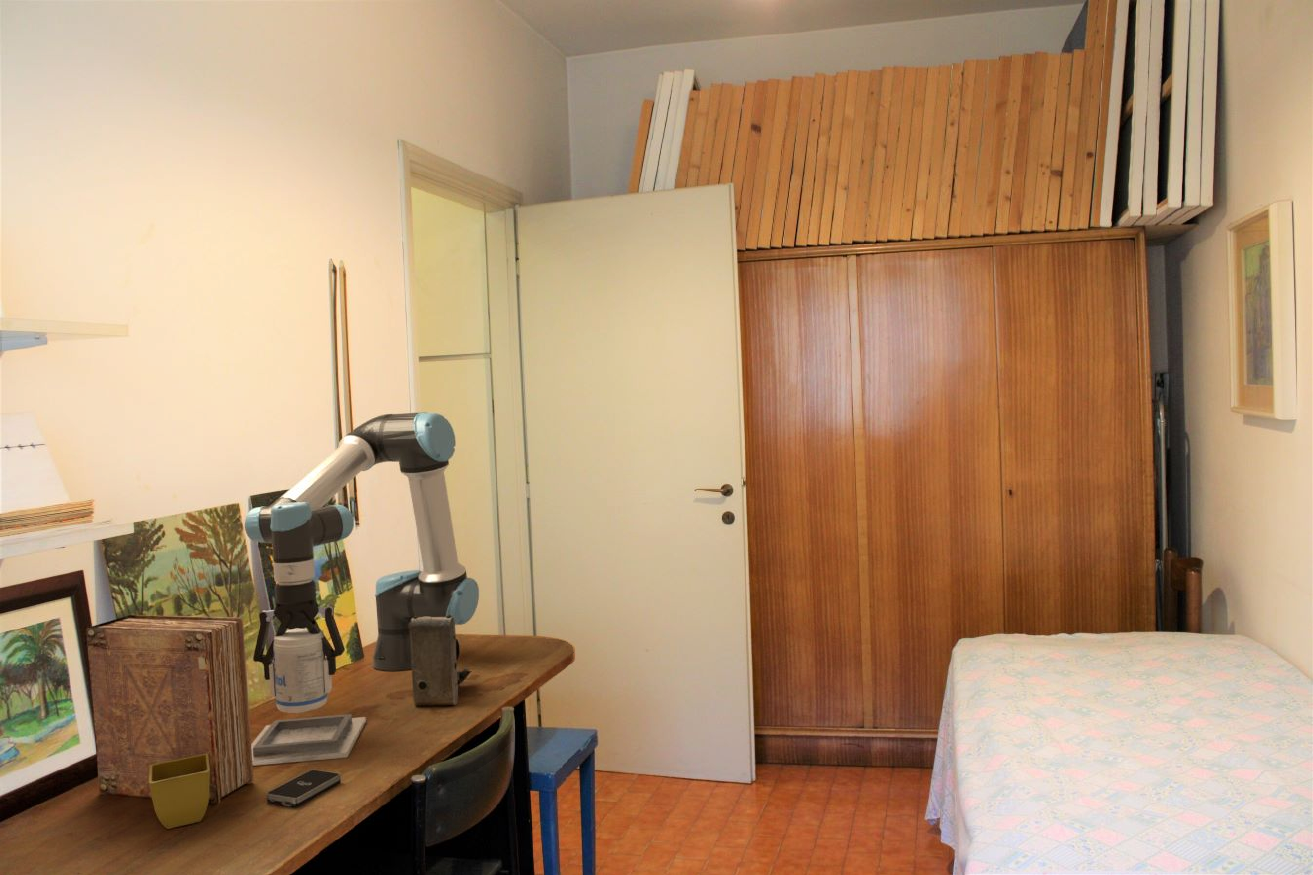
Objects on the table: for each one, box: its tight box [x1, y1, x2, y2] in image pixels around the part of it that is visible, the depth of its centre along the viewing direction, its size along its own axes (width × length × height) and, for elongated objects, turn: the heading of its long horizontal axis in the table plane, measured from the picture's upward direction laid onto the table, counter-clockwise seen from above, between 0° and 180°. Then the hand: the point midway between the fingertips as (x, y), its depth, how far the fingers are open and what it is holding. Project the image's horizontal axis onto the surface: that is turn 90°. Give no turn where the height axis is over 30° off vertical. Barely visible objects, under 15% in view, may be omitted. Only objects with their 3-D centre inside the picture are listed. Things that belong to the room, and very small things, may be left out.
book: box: [85, 614, 255, 806], centre depth 169 cm, size 25×9×30 cm, turn 74°
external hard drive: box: [266, 768, 342, 809], centre depth 165 cm, size 7×11×2 cm, turn 157°
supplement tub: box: [273, 628, 328, 714], centre depth 189 cm, size 10×10×15 cm
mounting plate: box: [251, 713, 367, 767], centre depth 189 cm, size 20×20×3 cm
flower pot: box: [149, 754, 210, 830], centre depth 156 cm, size 9×9×9 cm
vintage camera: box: [409, 615, 472, 707], centre depth 215 cm, size 10×16×20 cm, turn 174°
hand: (301, 693), depth 189 cm, fingers closed on supplement tub, 10 cm apart
